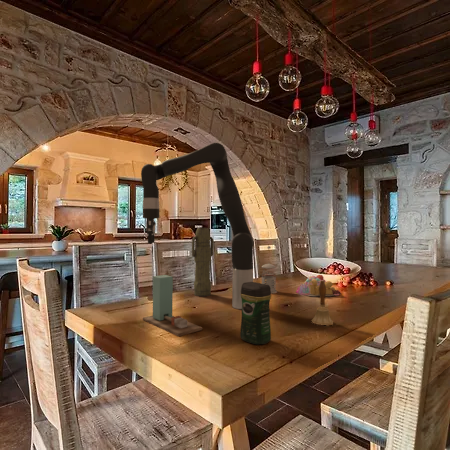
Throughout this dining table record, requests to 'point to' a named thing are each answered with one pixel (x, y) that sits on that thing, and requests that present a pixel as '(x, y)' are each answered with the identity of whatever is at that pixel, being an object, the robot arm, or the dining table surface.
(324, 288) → the hand bell
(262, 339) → the coffee jar
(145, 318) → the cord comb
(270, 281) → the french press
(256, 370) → the dining table surface
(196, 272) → the thermos
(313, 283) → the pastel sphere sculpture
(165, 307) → the sleeve
